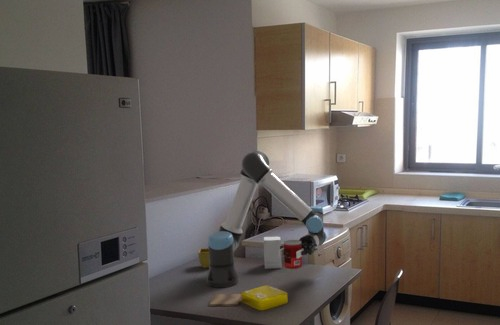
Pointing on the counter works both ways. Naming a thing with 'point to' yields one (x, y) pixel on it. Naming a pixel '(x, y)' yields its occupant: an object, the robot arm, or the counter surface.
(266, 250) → the supplement box
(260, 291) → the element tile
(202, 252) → the flower pot
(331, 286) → the counter surface
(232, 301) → the walnut trivet
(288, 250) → the canned food
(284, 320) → the counter surface
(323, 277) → the counter surface
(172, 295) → the counter surface
